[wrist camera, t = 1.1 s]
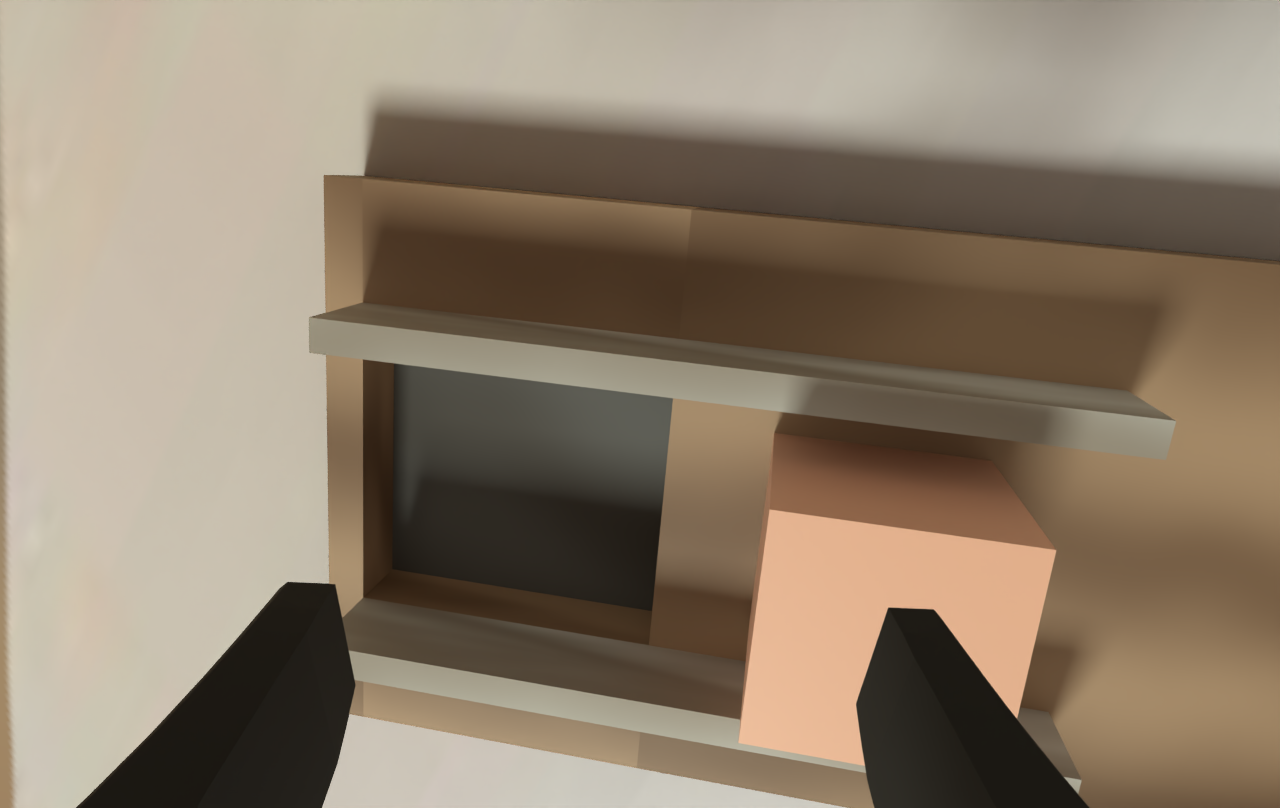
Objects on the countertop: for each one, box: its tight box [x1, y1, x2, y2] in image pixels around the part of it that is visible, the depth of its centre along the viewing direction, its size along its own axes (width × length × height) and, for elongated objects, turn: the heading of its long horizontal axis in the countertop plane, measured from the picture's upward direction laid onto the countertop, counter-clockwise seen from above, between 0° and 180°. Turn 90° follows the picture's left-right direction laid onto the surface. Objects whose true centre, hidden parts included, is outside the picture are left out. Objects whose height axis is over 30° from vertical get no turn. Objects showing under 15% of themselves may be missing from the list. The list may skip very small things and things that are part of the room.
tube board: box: [309, 175, 1280, 808], centre depth 20 cm, size 15×30×4 cm, turn 85°
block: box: [738, 433, 1056, 766], centre depth 18 cm, size 5×5×5 cm
